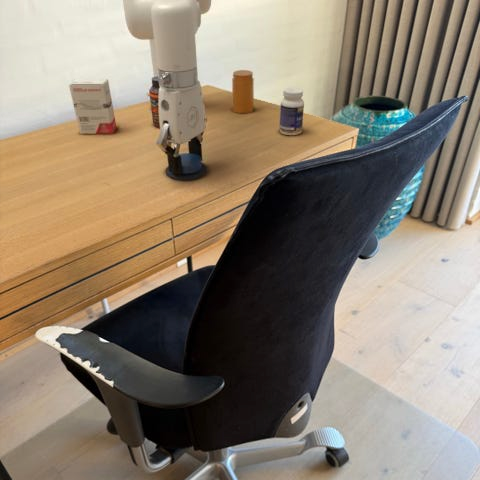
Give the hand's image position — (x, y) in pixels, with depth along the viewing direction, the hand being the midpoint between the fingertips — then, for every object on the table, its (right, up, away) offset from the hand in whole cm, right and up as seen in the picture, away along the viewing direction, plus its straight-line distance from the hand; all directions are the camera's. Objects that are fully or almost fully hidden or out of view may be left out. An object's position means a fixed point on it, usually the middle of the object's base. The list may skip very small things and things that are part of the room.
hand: (186, 165), depth 103 cm
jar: (+13, +25, +30) cm, 41 cm away
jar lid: (0, +1, -1) cm, 1 cm away
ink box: (-25, +15, +19) cm, 35 cm away
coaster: (0, -1, +1) cm, 1 cm away
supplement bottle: (-8, +18, +22) cm, 30 cm away
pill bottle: (+24, +14, +17) cm, 33 cm away
